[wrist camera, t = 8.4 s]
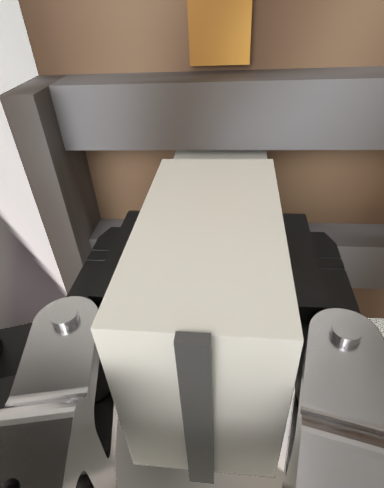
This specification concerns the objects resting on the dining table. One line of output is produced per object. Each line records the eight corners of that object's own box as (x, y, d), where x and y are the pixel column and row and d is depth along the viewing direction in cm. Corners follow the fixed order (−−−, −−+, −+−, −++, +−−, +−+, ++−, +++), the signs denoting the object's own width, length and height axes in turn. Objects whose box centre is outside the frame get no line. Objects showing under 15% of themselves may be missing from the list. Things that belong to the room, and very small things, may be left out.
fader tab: (266, 120, 12) (306, 350, 5) (258, 232, 15) (275, 490, 7) (177, 121, 12) (85, 337, 5) (184, 230, 15) (131, 475, 8)
